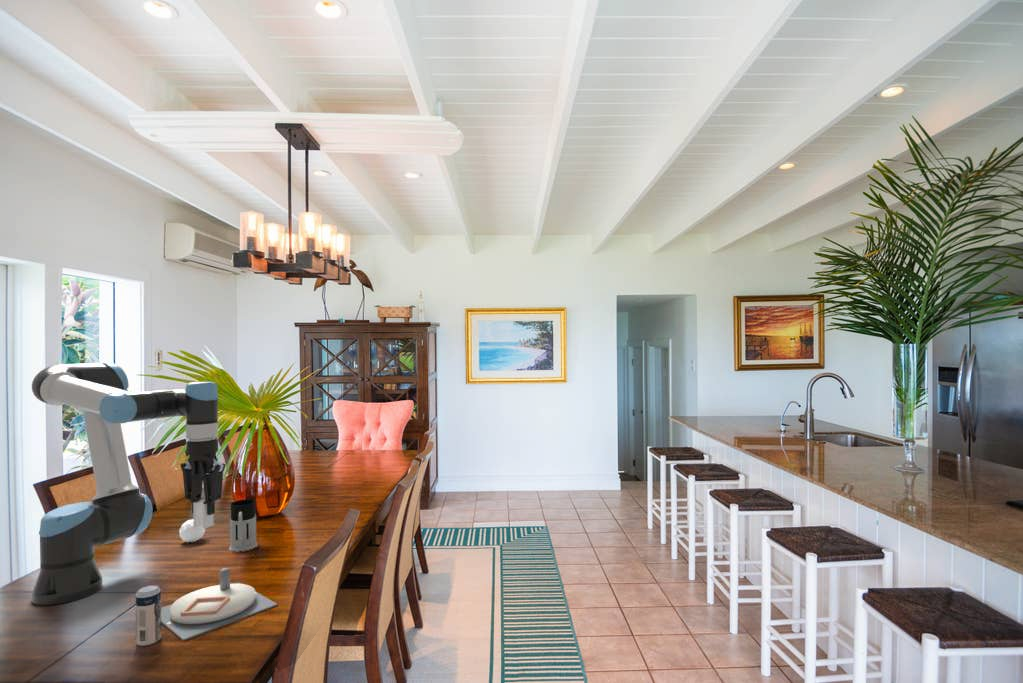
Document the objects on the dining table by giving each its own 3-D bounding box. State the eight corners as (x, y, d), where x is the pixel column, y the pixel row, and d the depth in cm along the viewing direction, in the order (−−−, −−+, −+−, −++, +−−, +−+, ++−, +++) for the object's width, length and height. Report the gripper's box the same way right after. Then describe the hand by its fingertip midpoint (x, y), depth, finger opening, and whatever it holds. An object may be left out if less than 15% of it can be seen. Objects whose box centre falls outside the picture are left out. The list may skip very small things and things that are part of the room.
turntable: (237, 621, 132) (237, 593, 132) (154, 626, 130) (153, 598, 130) (266, 587, 151) (265, 563, 151) (193, 591, 149) (193, 567, 149)
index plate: (183, 641, 125) (183, 637, 125) (149, 613, 139) (149, 609, 139) (277, 605, 142) (277, 602, 142) (239, 583, 156) (239, 580, 156)
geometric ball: (191, 551, 191) (181, 537, 186) (181, 539, 195) (171, 525, 190) (212, 535, 195) (203, 522, 190) (202, 524, 200) (192, 510, 195)
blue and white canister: (164, 641, 125) (163, 587, 125) (139, 650, 122) (139, 595, 122) (157, 634, 128) (156, 582, 128) (133, 642, 125) (132, 589, 125)
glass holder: (258, 541, 191) (258, 497, 192) (255, 555, 178) (254, 508, 178) (230, 544, 188) (230, 500, 189) (224, 559, 175) (224, 511, 175)
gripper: (236, 437, 151) (237, 524, 151) (191, 436, 156) (192, 519, 155) (214, 442, 144) (215, 532, 143) (168, 440, 148) (169, 528, 148)
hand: (203, 525), depth 149 cm, fingers open, 3 cm apart
